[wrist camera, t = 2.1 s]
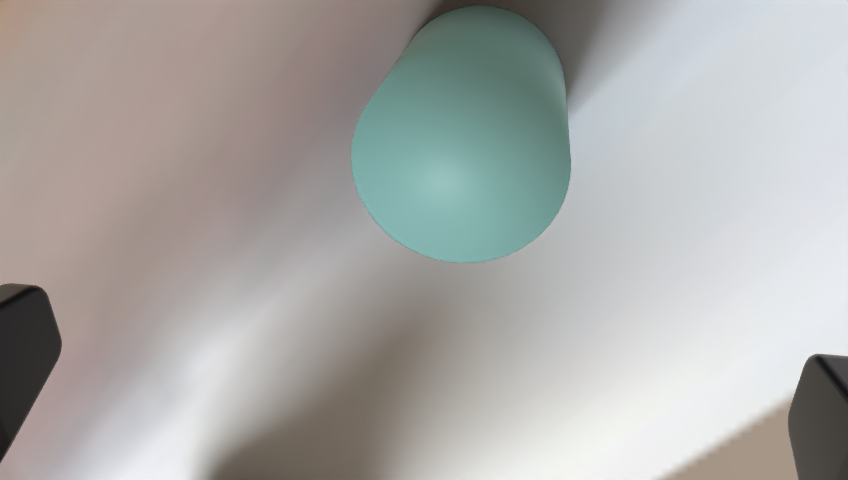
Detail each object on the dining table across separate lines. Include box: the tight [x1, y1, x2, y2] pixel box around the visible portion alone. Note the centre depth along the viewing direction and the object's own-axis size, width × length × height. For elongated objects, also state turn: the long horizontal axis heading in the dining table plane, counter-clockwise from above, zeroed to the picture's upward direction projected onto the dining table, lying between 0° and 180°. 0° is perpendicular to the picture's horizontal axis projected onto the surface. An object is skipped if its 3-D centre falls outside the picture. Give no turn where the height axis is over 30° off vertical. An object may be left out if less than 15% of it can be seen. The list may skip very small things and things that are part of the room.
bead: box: [351, 5, 571, 263], centre depth 15 cm, size 4×4×4 cm
